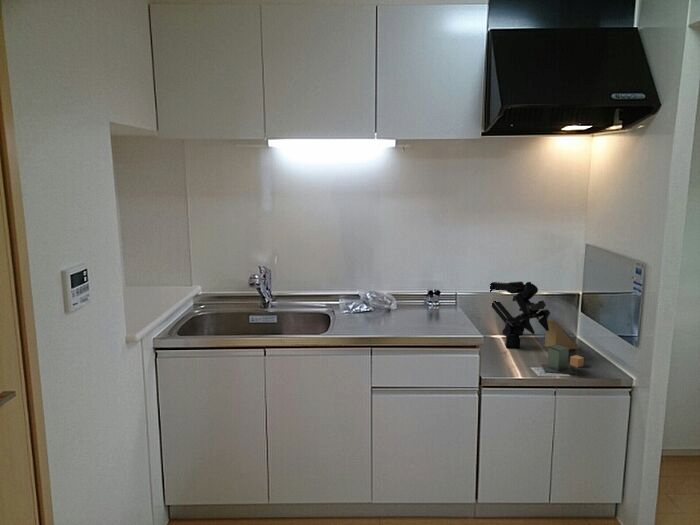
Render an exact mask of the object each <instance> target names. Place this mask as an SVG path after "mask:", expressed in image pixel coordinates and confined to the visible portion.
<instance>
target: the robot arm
mask: <svg viewBox="0 0 700 525" xmlns="http://www.w3.org/2000/svg"><path fill="white" fill-rule="evenodd" d="M497 282H498V283H497ZM490 283H491V282H490ZM490 283H489V284H490ZM490 285H491V286H490V289H491V290H490V292H491V291H495V290H499V291H506V293H509V294H511V295H512V296H513V297H512V301H513V302H516V303H517V305H518V307H519V308H518V310H519V312H522V313H519V314H518V315H516V316H514V317H513V315H512V314H511V313H510V312H509V311H508V310H507V308H506V307H505V306H504V305H503V303H502V302H501V301H500V302H496V301H493V303H492V306H491V308H492V309H493V310H494V312H495V313H496V314H497V315H498V317H499V318H501V320H502V322H504V328H503V330H502V335H503V336H505V343H504V346H505V348H506V349H517V350H519V349H520V347H521V338H520V336H523V335H524V332H525V330H526V331H528V332H529V333H531V334H533V335H535V330H534V328H533V326H532V325H531V322H530V320H531V319H536V320H537V322H538V323H539V324H540V325H541V327H543V329H544V330H545V332H546V331H549V327H548V322H547V318H548V319H549V316H550V315H551V312H550V310H549V309H547V308H546V306H547V305H546V303H545V301H544V300H539V301H538V302H537V303H535V302H534V301H533V302H532V301H530V300H531V299H532V298H533V297H534V296H535V295H537V293H538V291H539V288H538V287H537V285H535V284H534V283H532V282H531V281H527V282H526V283H524V282H523V281H510V282H500V281H492V283H491V284H490ZM514 294H516V295H514Z"/></svg>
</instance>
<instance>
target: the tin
mask: <svg viewBox="0 0 700 525" xmlns="http://www.w3.org/2000/svg"><path fill="white" fill-rule="evenodd" d="M569 352H570V350H569V348H567V347H564V346H561V345H558V344H557V345H552V346H548V347H547V363H546V364H547V368H550V369H552V370H554V371H557V372H560V371H563V370H567V367H568V366H569V365H568V364H569Z"/></svg>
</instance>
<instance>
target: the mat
mask: <svg viewBox="0 0 700 525" xmlns="http://www.w3.org/2000/svg"><path fill="white" fill-rule="evenodd" d="M540 366H541V367H542V369H543V371H544V373H549V374H563V375H574V374H575V373H574V371H573V369H572V368H571V367H570V365H568V367H567V370H563V371H560V372H557V371H554V370H552V369H550V368H547V363H541V364H540Z"/></svg>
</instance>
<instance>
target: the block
mask: <svg viewBox="0 0 700 525" xmlns="http://www.w3.org/2000/svg"><path fill="white" fill-rule="evenodd" d="M569 357H570V358H569V359H570V360H569V366H571V367H572V366H573V367H576V368H580V367H584V362H585V357H583V356H581V355H577V354H574V355H571V356H569Z"/></svg>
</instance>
